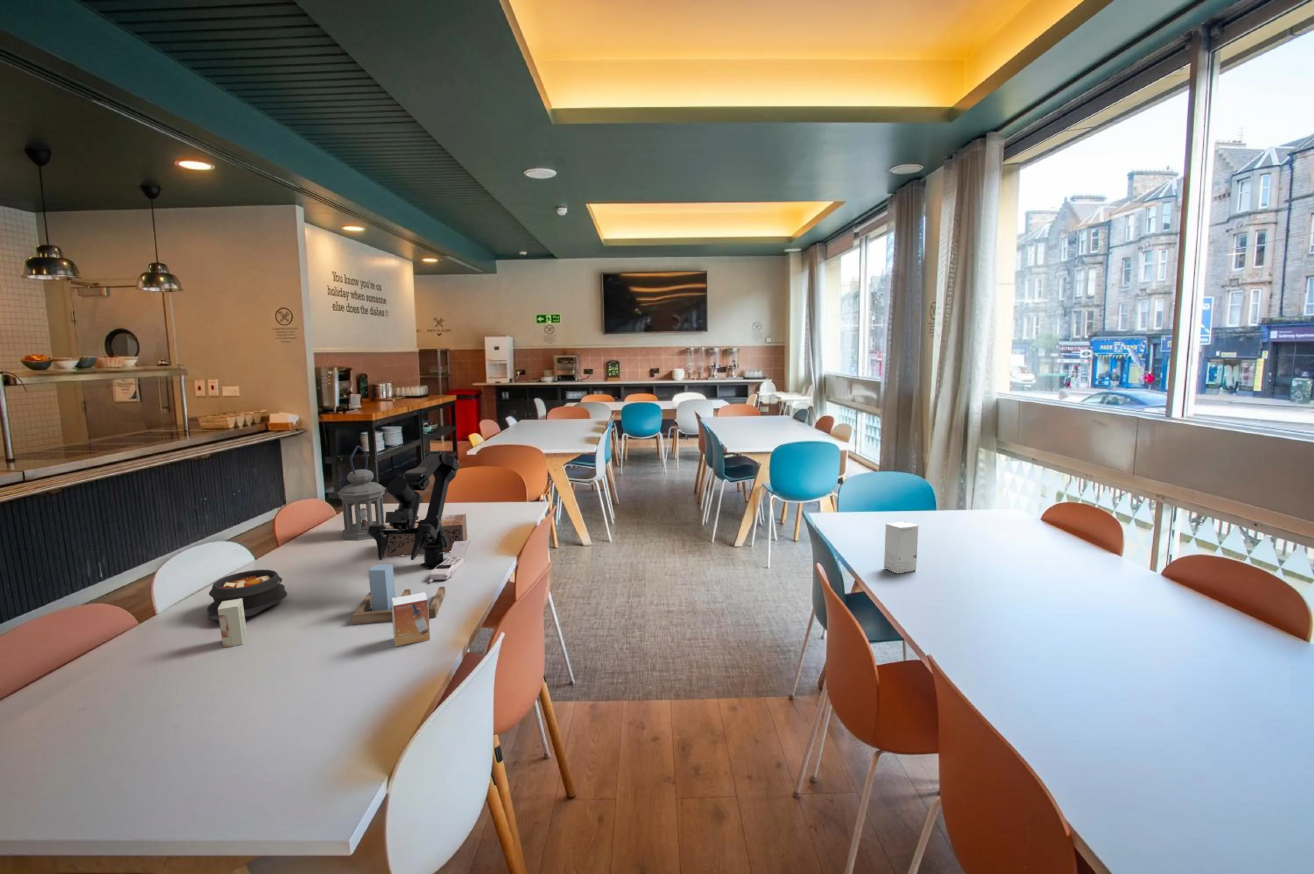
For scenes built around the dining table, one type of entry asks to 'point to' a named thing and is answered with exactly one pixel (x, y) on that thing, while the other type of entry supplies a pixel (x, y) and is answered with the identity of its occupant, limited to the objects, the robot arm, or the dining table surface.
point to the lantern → (361, 493)
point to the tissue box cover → (404, 543)
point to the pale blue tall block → (381, 587)
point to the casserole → (247, 591)
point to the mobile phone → (451, 562)
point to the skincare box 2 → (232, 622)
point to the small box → (410, 619)
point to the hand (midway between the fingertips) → (396, 559)
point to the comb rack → (386, 615)
